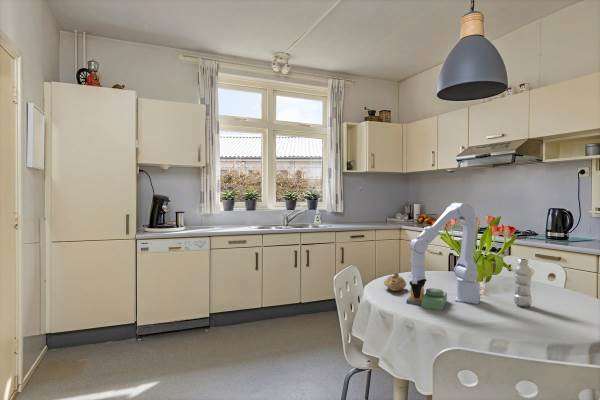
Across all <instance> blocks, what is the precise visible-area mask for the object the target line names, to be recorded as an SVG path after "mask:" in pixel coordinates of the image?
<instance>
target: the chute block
mask: <svg viewBox="0 0 600 400" xmlns="http://www.w3.org/2000/svg"><path fill="white" fill-rule="evenodd" d="M424 294H425V285H424V286H422V287H421V292H420V297H419V298H414V295H413V291H412V288H411V287H410V295H411V300H417V301H422V297H423V296H424Z"/></svg>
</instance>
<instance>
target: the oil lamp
mask: <svg viewBox="0 0 600 400" xmlns="http://www.w3.org/2000/svg"><path fill="white" fill-rule="evenodd" d="M383 285H384V286H386V287H387V288H388V290H390V291H393V292H400V291H401V290H403V289H404V288H406V287H407V282H406V281H405V279H404V278H403V277H402V276H400V274H399V271H395V272H394V273H393V275H391V276H388V277H387V278H386V279H384V281H383Z"/></svg>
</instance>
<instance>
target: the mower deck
mask: <svg viewBox="0 0 600 400" xmlns="http://www.w3.org/2000/svg"><path fill="white" fill-rule="evenodd" d="M447 302H448V293H447V292H445V291H444V290H443V289H439V288H432V287H431V288H430V287H429V288H426V289H425V292H424V296H423V297H422V301H417V300H411V294H410V295H409V297H408V298H406V301H405V303H406V304H411V305H416V306H421V308H422V309H423V308H424V309H430V310H431V309H432V310H437V311H443V309H444V307H445V306H446V304H447Z"/></svg>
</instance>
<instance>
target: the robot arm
mask: <svg viewBox="0 0 600 400" xmlns="http://www.w3.org/2000/svg"><path fill="white" fill-rule="evenodd" d="M456 219H458V220H459V221H460V222H461V223H462V224H463V225H462V236H461V244H460V245H461V246H460V256H459V259H457V261H456V265H455V266H454V268H453V273H454V275H455V276H456V297H455V298H454V301H455V302H461V303H467V304H475V305H476V304H477V305H478V304H480V300H481V294H480V293H481V292H480V291H481V289H480V287H481V286H480V281H476V280H477V279H478V277H479V273H478V270H477V268H478V267H477V264H476V262H475V260H474V258H475V247H476V236H477V225H478V219H477V217H476V213H475V208H474V207H473V205H471V204H470V203H468V202H452V203H450V205H449V206H447V207H446V209H445V211H444V212H442V214H441V215H440V216H439V217H438V219H437V220H435V222H434V223H433V224H432V225H430V226H428V225H427V226H425V227H424V228H423V231H421V233H420V234H418V235H417V236H416V238H413V239H412V240H411V241H410V243H408V247H409V249H410V251H411V252H410V253H411V256H410V257H411V262H410V263H411V268H410V269H411V272H410V273H411V274H409V275H408V277H409V278H411V280H410V281H409V285H410V289H411V288H412V291H413V295H414V298H419V297H420V292H421V287H422V286H424V287H425V284H426V282H427V278H426V256H425V255H426V251H427V250H428V246H429V245H430V244H431V243H432V242H433V241H434V240H435V239H436V238H437V237H438V235H439V231H441V229H442V228H443V227H444V226H445V225H446V224H448V223H449V222H450V221H451V220H456Z"/></svg>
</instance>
